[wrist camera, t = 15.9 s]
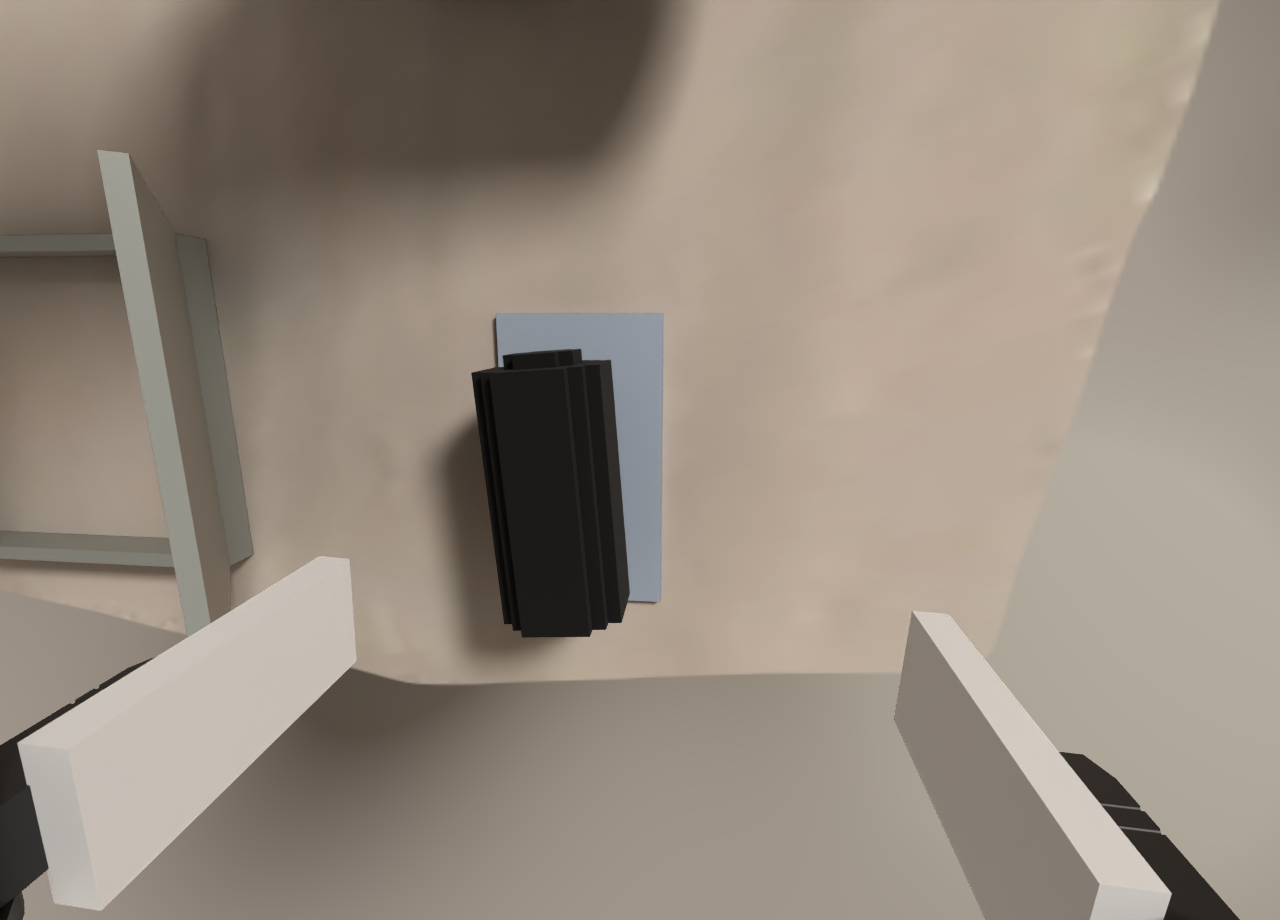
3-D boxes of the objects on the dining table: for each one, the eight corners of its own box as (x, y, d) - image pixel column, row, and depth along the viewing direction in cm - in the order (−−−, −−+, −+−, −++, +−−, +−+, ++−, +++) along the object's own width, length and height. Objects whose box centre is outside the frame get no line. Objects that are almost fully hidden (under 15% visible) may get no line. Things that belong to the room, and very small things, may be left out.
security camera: (547, 606, 44) (502, 686, 35) (518, 350, 40) (457, 359, 31) (641, 604, 43) (621, 686, 34) (621, 343, 39) (592, 350, 30)
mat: (498, 313, 40) (495, 313, 40) (663, 313, 39) (662, 313, 39) (513, 590, 45) (510, 594, 44) (660, 598, 44) (660, 602, 43)
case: (-85, 243, 44) (-761, 178, 24) (415, 235, 40) (113, 149, 20) (-9, 542, 49) (-510, 697, 29) (441, 562, 45) (223, 759, 25)
